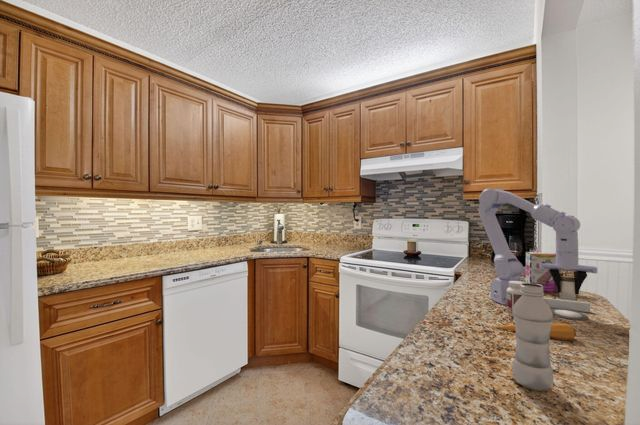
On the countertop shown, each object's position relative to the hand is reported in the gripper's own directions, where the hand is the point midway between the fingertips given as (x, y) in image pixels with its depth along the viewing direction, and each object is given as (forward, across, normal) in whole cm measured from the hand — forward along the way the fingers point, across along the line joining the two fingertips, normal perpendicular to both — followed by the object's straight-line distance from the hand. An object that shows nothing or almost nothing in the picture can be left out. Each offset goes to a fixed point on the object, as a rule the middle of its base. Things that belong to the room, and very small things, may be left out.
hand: (567, 292), depth 97 cm
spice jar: (+2, 0, 0) cm, 2 cm away
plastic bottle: (+8, +15, +54) cm, 57 cm away
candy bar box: (+8, +2, -33) cm, 34 cm away
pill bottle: (+8, +14, +8) cm, 18 cm away
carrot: (+8, +13, +24) cm, 28 cm away
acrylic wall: (+7, 0, -7) cm, 10 cm away
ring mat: (+7, 0, 0) cm, 7 cm away
